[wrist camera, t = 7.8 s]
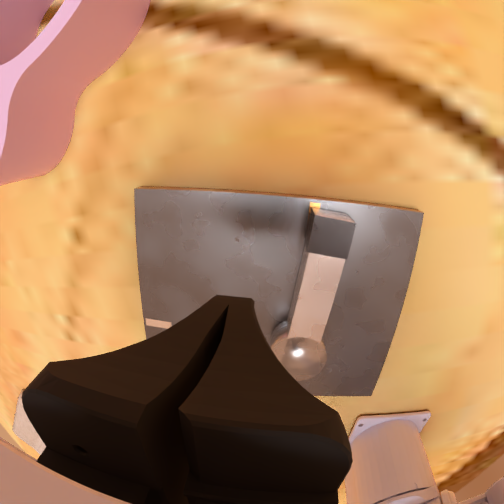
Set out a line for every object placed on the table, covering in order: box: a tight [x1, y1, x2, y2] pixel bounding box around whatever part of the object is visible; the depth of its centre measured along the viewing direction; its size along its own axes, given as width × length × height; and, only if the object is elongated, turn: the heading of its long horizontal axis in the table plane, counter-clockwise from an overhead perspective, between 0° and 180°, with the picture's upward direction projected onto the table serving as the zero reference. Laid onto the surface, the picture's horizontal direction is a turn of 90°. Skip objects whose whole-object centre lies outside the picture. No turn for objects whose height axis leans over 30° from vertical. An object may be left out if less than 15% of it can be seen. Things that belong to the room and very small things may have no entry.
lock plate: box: [134, 186, 424, 396], centre depth 20 cm, size 15×18×1 cm
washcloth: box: [12, 390, 46, 455], centre depth 32 cm, size 12×18×3 cm, turn 142°
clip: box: [0, 0, 150, 185], centre depth 13 cm, size 20×12×7 cm, turn 155°
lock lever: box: [270, 207, 356, 381], centre depth 18 cm, size 11×4×2 cm, turn 171°
